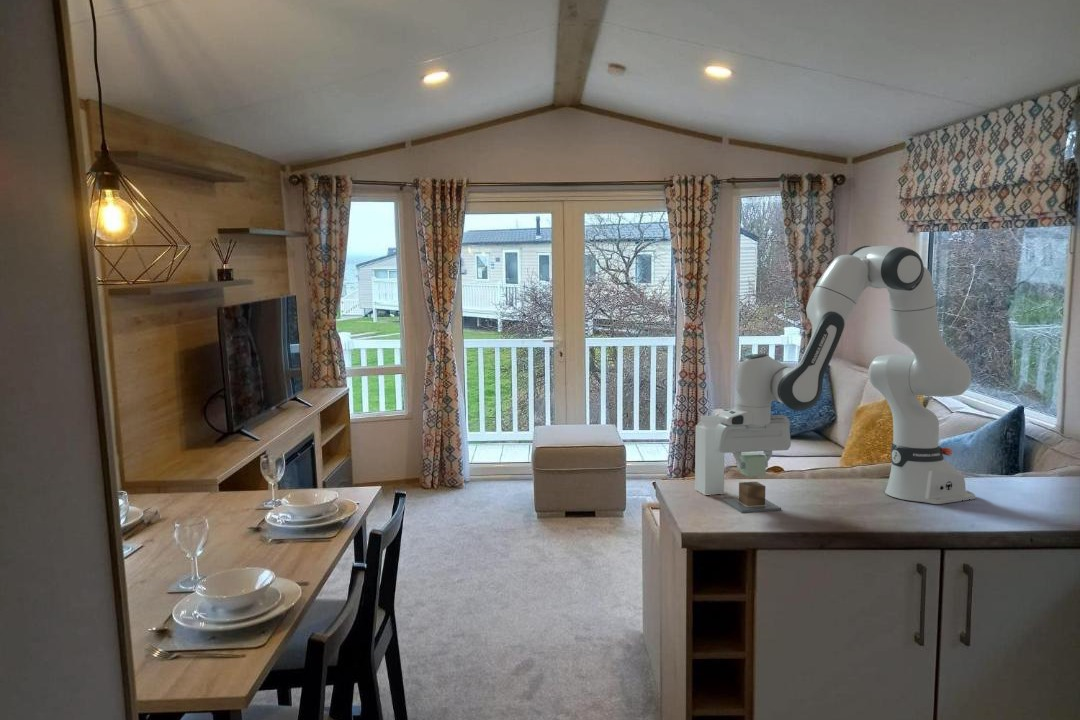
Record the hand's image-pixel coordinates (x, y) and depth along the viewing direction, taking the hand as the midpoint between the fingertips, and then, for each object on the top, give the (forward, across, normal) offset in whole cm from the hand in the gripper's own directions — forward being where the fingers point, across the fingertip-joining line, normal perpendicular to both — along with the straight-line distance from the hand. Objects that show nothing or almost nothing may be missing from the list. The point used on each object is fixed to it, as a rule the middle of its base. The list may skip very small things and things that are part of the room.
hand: (752, 467), depth 190 cm
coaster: (+10, 0, 0) cm, 10 cm away
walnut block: (+10, 0, 0) cm, 10 cm away
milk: (+10, +5, -15) cm, 19 cm away
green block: (+2, 0, 0) cm, 2 cm away
